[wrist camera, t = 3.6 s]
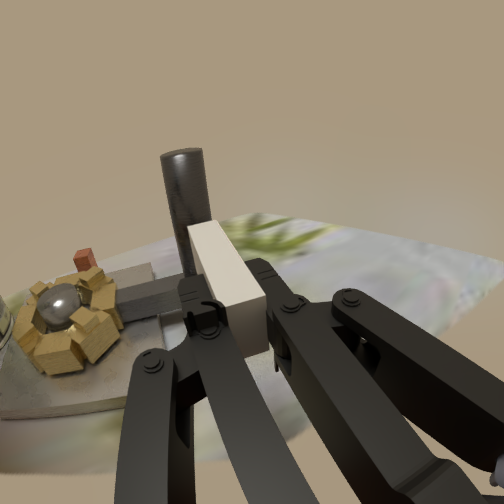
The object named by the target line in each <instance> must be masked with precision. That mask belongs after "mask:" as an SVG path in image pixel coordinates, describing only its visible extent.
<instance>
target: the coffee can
mask: <svg viewBox="0 0 504 504" xmlns="http://www.w3.org/2000/svg"><path fill="white" fill-rule="evenodd" d="M13 326H14V318H13V315H12V314H11V313H10V311H9V310H8V308H7V306H6V304H5V303H4V301H3V299H2V297H1V296H0V349H1V348H2V347H3V346H4V344H5V343H6V342H7V340H8V339H9V337H10V335H11V332H12V329H13Z"/></svg>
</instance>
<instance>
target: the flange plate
mask: <svg viewBox="0 0 504 504" xmlns="http://www.w3.org/2000/svg"><path fill="white" fill-rule="evenodd" d="M73 260H74V263H75V265H76V267H77V270H78V272H82V271H85V272H86V271H88V270H89V269H90V268H92V267H93V266H95V267H98V266H97V263H96V261H95V258H94V255H93V253H92V250H91V248H87V249H83V250H79V251H77V253H76V254H75V256H74V258H73ZM105 276H107V277H110V278H113V280H114V283H116V284H117V287H118V289H122V288H126V287H130V286H134V285H137V284H141V283H145V282H149V281H153V280H154V273H153V269H152V266H151V263H146V264H142V265H138V266H134V267H130V268H126V269H122V270H118V271H114V272H111V273H107V274H105ZM31 296H32V294H28V295H27V296H26V299H25V301H24V303H23V306H26V305H27V303H26V300H28V299H29V298H30V297H31ZM82 306H83V307H84V308H86V309H88V310H90V307H91V305H89V304H87V303H86V304H83V303H82V301H81V299H80V297H79V295H78V293H77V290H76V288H75V286H74V285H72V284H70V283H62V284H58V285H56V286H54V287H52V288H50V289H48V290H47V291H46V292H45V293H43V294H42V296H41V297H40V298H39V300H38V302H37V309H38V311H39V313H40V315H41V316H42V318H43V320H44V322H45V323H46V325H47V327H46V331H45V334H49V333H54V332H59V331H63V330H68V329H69V328H70V327H71V326H72V325H73V324H72V322H71V320H70V318H69V317H70V316H71V315H72V314H74V313H75V312H76V311H77V310H78V309H79V308H80V307H82ZM118 332H119V334H120V337H119V338H118V339H117V340H116V341H115V342H114V343H113V344H112V345H111V346H110V347H109V348H108V349H107V350H106V351H105V352H104V353H103V354H102V355H101V356H100V357H99V358H98V359H97V360H96V361H95V362H94V363H93V364H91V363H90V362H89V361H87V360H86V359H84V369H82V370H77V371H71V372H65V373H59V374H53V375H48V374H47V373H46V372H45V371H43V372H42V373H41V372H40V371H39V370H38V369H37V368H36V367H35V366H34V365H33V364H32V362H31V361H30V360H29V359H28V358H27V357H26V356H25V354H24V353H23V352H22V350H21V349H20V347H19V346H18V345H17V343H16V342H15V340H14V339H13V337H12V336H13V335H11V338H10V341H9V344H8V347H7V351H6V354H5V357H4V361H3V364H2V368H1V371H0V419H32V418H47V417H58V416H68V415H77V414H85V413H92V412H99V411H106V410H112V409H118V408H123V407H125V404H126V398H127V393H128V387H129V382H130V377H131V372H132V367H133V363H134V361H135V359H136V357H137V356H138V355H139V354H140V353H142V352H144V351H146V350H147V349H152V348H162V349H164V350H165V344H164V339H163V333H162V328H161V322H160V315H159V314H157V315H153V316H149V317H145V318H141V319H137V320H133V321H128V322H124V329H120V330H118ZM12 333H13V332H12Z"/></svg>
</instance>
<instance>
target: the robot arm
mask: <svg viewBox="0 0 504 504" xmlns="http://www.w3.org/2000/svg"><path fill="white" fill-rule="evenodd" d="M187 228H188V233H189V238H190V243H191V248H192V253H193V257H194V262H195V267H196V271H197V274H198V275H195V276H191V277H187V278H183V279H180V281H179V284H178V286H177V289H178V294H179V298H180V302H181V306H182V310H183V319H184V323H185V326H186V329H187V336H186V337H185V339H184V341H183V342H182V343H181V344H180V345H178V346H177V347H175V348H174V349H172V350H170V351H167V350H164V349H162V348H152V349H147V350H146V351H144V352H142V353H140V354H139V355H138V356H137V357H136V359H135V361H134V363H133V367H132V372H131V377H130V382H129V387H128V393H127V398H126V404H125V410H124V417H123V423H122V430H121V437H120V445H119V453H118V462H117V472H116V483H115V497H114V504H196V493H195V470H194V468H195V467H194V404H195V403H197V402H199V401H200V400H202V399H203V398H205V397H208V400H209V403H210V406H211V409H212V412H213V415H214V418H215V420H216V423H217V426H218V429H219V432H220V434H221V437H222V440H223V442H224V445H225V448H226V450H227V453H228V456H229V458H230V461H231V463H232V466H233V468H234V471H235V473H236V475H237V478H238V480H239V482H240V485H241V487H242V490H243V492H244V494H245V496H246V499H247V501H248V503H249V504H319V502H318V500H317V498H316V497H315V495H314V493H313V492H312V490H311V488H310V486H309V485H308V483H307V481H306V479H305V478H304V476H303V474H302V472H301V470H300V468H299V467H298V465H297V463H296V461H295V459H294V457H293V456H292V454H291V452H290V450H289V448H288V446H287V444H286V442H285V440H284V439H283V437H282V435H281V433H280V431H279V429H278V427H277V425H276V423H275V421H274V419H273V417H272V415H271V413H270V411H269V409H268V407H267V405H266V403H265V401H264V399H263V397H262V395H261V393H260V391H259V389H258V387H257V385H256V383H255V381H254V379H253V377H252V375H251V373H250V370H249V368H248V366H247V364H246V362H245V360H244V358H247V357H250V356H253V355H256V354H259V353H262V352H265V351H268V350H269V342H270V344H271V345H272V347H273V349H274V364H275V371H276V372H278V371H279V368H280V369H281V371H282V373H283V375H284V376H285V378H286V380H287V382H288V383H289V385H290V387H291V389H292V390H293V392H294V394H295V396H296V397H297V399H298V401H299V402H300V404H301V406H302V408H303V409H304V411H305V413H306V414H307V416H308V418H309V419H310V421H311V423H312V424H313V426H314V428H315V429H316V431H317V433H318V434H319V436H320V438H321V439H322V441H323V443H324V444H325V446H326V448H327V449H328V451H329V453H330V454H331V456H332V457H333V459H334V461H335V462H336V464H337V465H338V467H339V469H340V470H341V472H342V474H343V475H344V477H345V478H346V480H347V482H348V483H349V485H350V486H351V488H352V489H353V491H354V493H355V494H356V496H357V497H358V499H359V500H360V502H361V504H504V496H493V495H481V494H480V492H479V491H478V490H477V488H476V487H475V486H474V484H473V483H472V482H471V481H470V479H469V478H468V477H467V476H466V474H465V473H464V472H463V471H462V469H461V468H460V467H459V466H458V465H457V464H456V463H454V462H453V461H451V460H449V459H441V458H437V457H436V456H435V455H433V454H432V452H431V451H430V450H429V448H428V447H427V446H426V445H425V444H424V442H423V441H422V440H421V438H420V437H419V436H418V435H417V433H416V432H415V431H414V430H413V428H412V427H411V426H410V425H409V423H408V422H407V421H406V419H405V418H404V417H403V416H405V417H406V418H407V419H408V420H410V421H411V422H412V423H414V424H415V425H416V426H418V427H419V428H420V429H422V430H423V431H424V432H425V433H427V434H428V435H430V436H431V437H432V438H433V439H435V440H436V441H437V442H439V443H440V444H442V445H443V446H444V447H446V448H447V449H448V450H450V451H451V452H452V453H454V454H455V455H456V456H458V457H459V458H461V459H462V460H464V461H465V462H467V463H468V464H470V465H471V466H473V467H476V468H478V469H480V470H483V471H486V472H491V473H492V474H491V476H490V484H491V485H492V486H494V487H496V486H498V485H499V486H500V487H502V488H504V382H502V381H501V380H499V379H498V378H496V377H495V376H493V375H492V374H490V373H489V372H488V371H486V370H484V369H483V368H481V367H480V366H478V365H477V364H475V363H474V362H472V361H471V360H469V359H468V358H466V357H465V356H463V355H462V354H460V353H459V352H457V351H456V350H454V349H452V348H451V347H449V346H448V345H446V344H445V343H443V342H442V341H440V340H439V339H437V338H435V337H434V336H432V335H431V334H429V333H428V332H426V331H424V330H423V329H421V328H420V327H418V326H417V325H415V324H413V323H412V322H410V321H409V320H407V319H405V318H404V317H402V316H401V315H399V314H398V313H396V312H394V311H393V310H391V309H389V308H388V307H386V306H385V305H383V304H381V303H380V302H378V301H377V300H375V299H373V298H372V297H370V296H368V295H367V294H365V293H364V292H362V291H359V290H357V289H351V288H347V289H342V290H339V291H337V292H336V293H335V294H334V295H333V299H332V301H329V302H319V303H312V302H310V301H309V300H308V299H306V298H305V297H304V296H301V295H298V294H293V292H292V291H291V290H290V289H289V287H288V286H287V285H286V283H285V282H284V281H283V280H282V278H281V277H280V276H278V273H277V272H276V271H275V270H274V268H273V267H272V266H271V265H270V263H269V262H267V261H265V260H263V259H261V258H256V259H253V260H249V261H245V262H244V261H243V260H242V258H241V257H240V255H239V254H238V252H237V251H236V249H235V248H234V246H233V245H232V243H231V242H230V240H229V239H228V237H227V236H226V234H225V233H224V231H223V230H222V228H221V226H220V225H219V223H218V222H217V220H212V221H208V222H204V223H200V224H195V225H191V226H187ZM361 337H362V338H364V339H365V340H364V339H362V338H361ZM278 366H279V367H278ZM402 415H403V416H402Z"/></svg>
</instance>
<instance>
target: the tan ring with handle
mask: <svg viewBox="0 0 504 504" xmlns="http://www.w3.org/2000/svg"><path fill="white" fill-rule="evenodd" d="M160 160H161V166H162V172H163V177H164V183H165V188H166V194H167V198H168V204H169V209H170V214H171V219H172V223H173V228H174V233H175V238H176V242H177V247H178V251H179V256H180V260H181V264H182V268H183V273H181V274H177V275H173V276H169V277H165V278H161V279H157V280H153V281H149V282H145V283H141V284H137V285H134V286H130V287H126V288H122V289H118V287H117V284H116V283H114V280H113V278H110V277H107V276H105V274H104V271H103V269H101V268H98V267H95V266H93V267H92V268H90V269H89V270H88V271H86V272H85V271H82V272H78V273H75V274H71V275H67V276H64V277H60V278H56V281H55V284H52V283H51V282H49V283H48V284H46V285H45V284H44V283H42V282H41V281H39V282H38V283H36V284H35V285H34V286H32V287H31V288H30V289H29V290H30V291H31V293H32V296H31V297H30V298H29V299H28V300H26V303H27V305H26V306H22V307H21V308H20V311H19V313H18V316H17V318H16V321H15V324H14V326H13V329H12V332H13V333H12V335H13V336H12V337H13V339H14V340H15V342H16V343H17V345H18V346H19V347H20V349H21V350H22V352H23V353H24V354H25V356H26V357H27V358H28V359H29V360H30V361H31V362H32V364H33V365H34V366H35V367H36V368H37V369H38V370H39V371H40V372H41V373H42V372H43V371H45V372H46V373H47V374H48V375H53V374H59V373H65V372H71V371H77V370H82V369H84V359H86V360H87V361H89V362H90V363H91V364H93V363H94V362H95V361H96V360H97V359H98V358H99V357H100V356H101V355H102V354H103V353H104V352H105V351H106V350H107V349H108V348H109V347H110V346H111V345H112V344H113V343H114V342H115V341H116V340H117V339H118V338H119V337H120V334H119V332H118V330H120V329H124V322H128V321H133V320H137V319H141V318H145V317H149V316H153V315H157V314H161V313H165V312H169V311H173V310H176V309H180V308H182V306H181V302H180V298H179V294H178V289H177V286H178V284H179V281H180V279H183V278H187V277H191V276H195V275H198V274H197V271H196V267H195V262H194V257H193V253H192V248H191V243H190V238H189V233H188V228H187V226H191V225H195V224H200V223H204V222H208V221H212V218H211V211H210V204H209V197H208V191H207V182H206V175H205V168H204V160H203V151H202V148H186V149H180V150H175V151H171V152H168V153H165V154H163V155H161V156H160ZM62 283H70V284H72V285H74V286H75V288H76V290H77V293H78V295H79V297H80V299H81V301H82V303H83V304H86V303H87V304H89V305H91V307H90V310H88V309H86V308H84V307H83V306H82V307H80V308H79V309H78V310H77V311H76V312H75V313H74V314H72V315H71V316H70V317H69V318H70V320H71V322H72V324H73V325H72V326H71V327H70V328H69V329H68V330H63V331H59V332H54V333H49V334H45V331H46V327H47V325H46V323H45V322H44V320H43V318H42V316H41V315H40V313H39V311H38V309H37V302H38V300H39V298H40V297H41V296H42V294H43V293H45V292H46V291H47V290H48V289H50V288H52V287H54V286H56V285H58V284H62Z"/></svg>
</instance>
